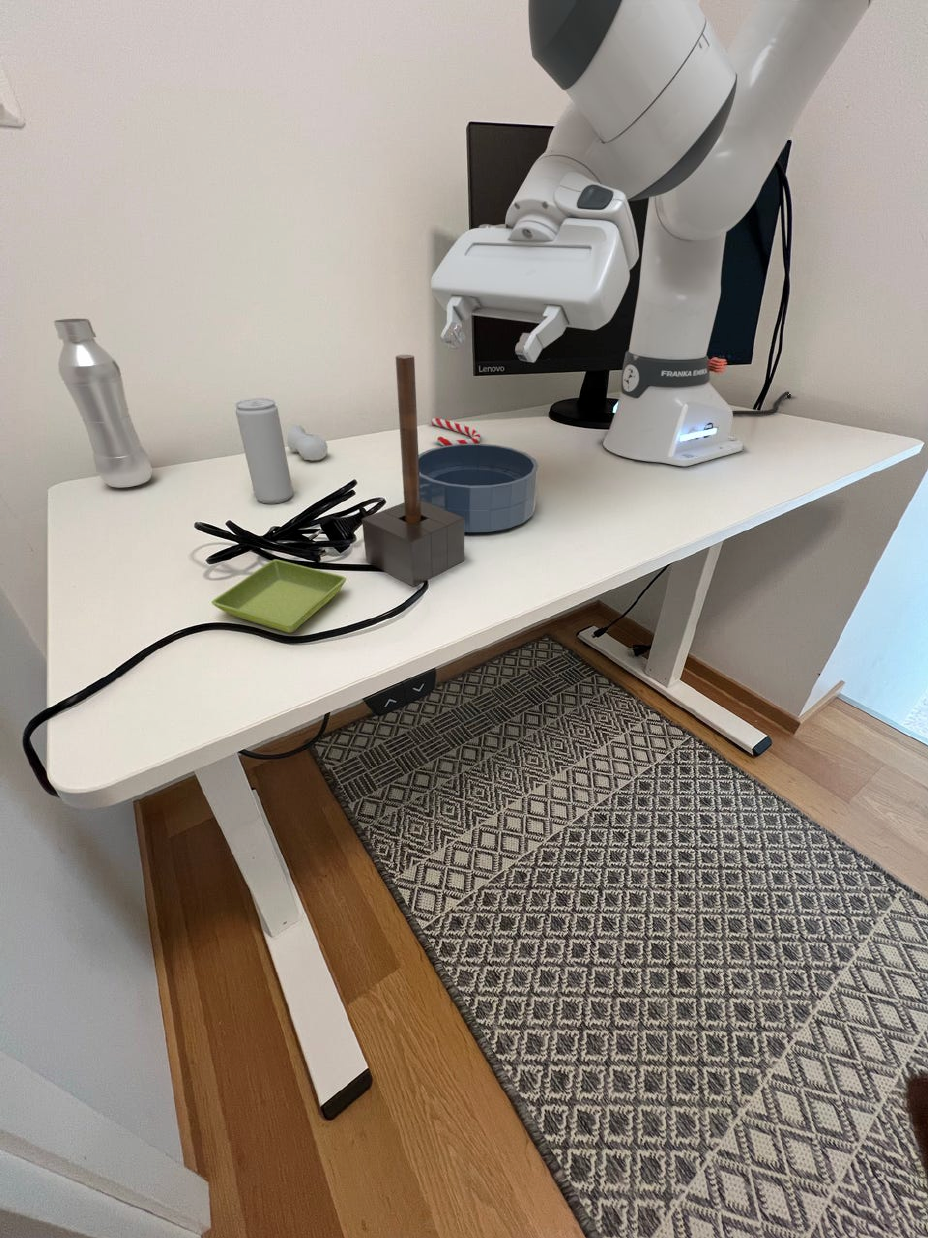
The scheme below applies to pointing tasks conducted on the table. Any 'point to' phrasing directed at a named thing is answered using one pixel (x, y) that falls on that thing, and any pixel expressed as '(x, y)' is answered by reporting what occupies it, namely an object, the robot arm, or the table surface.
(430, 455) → the bowl
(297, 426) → the smooth white sculpture
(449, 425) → the candy cane
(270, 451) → the beverage can
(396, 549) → the holder
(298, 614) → the saucer
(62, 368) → the plastic bottle
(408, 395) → the stick
